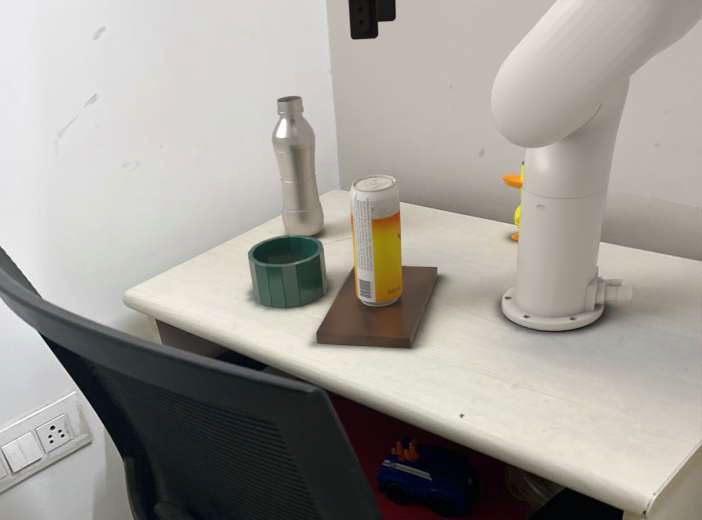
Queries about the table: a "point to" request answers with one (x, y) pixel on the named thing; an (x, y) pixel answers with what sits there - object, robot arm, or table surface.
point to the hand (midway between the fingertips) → (374, 29)
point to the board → (379, 313)
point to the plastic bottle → (297, 168)
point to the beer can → (376, 239)
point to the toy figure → (517, 183)
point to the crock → (288, 271)
